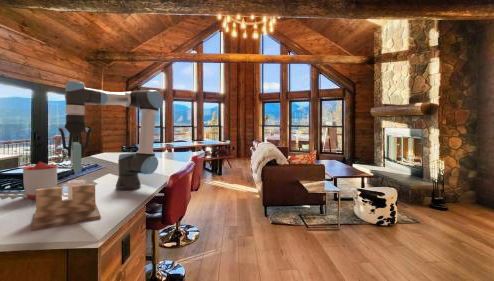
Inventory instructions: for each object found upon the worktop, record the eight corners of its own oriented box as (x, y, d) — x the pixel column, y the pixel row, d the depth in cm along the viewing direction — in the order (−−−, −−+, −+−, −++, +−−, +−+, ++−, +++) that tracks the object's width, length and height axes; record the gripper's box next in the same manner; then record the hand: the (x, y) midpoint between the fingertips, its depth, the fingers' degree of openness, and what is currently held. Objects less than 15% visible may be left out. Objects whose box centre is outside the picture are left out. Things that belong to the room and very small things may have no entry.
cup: (83, 200, 143) (83, 182, 142) (57, 202, 139) (57, 183, 138) (87, 196, 151) (87, 179, 150) (63, 198, 147) (62, 180, 146)
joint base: (95, 204, 136) (94, 179, 135) (100, 218, 117) (100, 189, 116) (36, 212, 122) (35, 184, 121) (31, 230, 103) (30, 196, 102)
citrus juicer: (52, 190, 161) (52, 158, 160) (61, 196, 150) (61, 161, 149) (19, 195, 149) (18, 161, 148) (27, 202, 138) (25, 164, 137)
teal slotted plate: (78, 166, 129) (78, 142, 129) (81, 172, 113) (81, 144, 112) (72, 166, 128) (72, 142, 127) (74, 172, 112) (74, 145, 111)
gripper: (55, 113, 117) (55, 165, 118) (95, 115, 126) (95, 163, 127) (55, 113, 123) (55, 163, 124) (93, 115, 132) (93, 161, 133)
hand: (75, 163), depth 126 cm, fingers closed on teal slotted plate, 2 cm apart
